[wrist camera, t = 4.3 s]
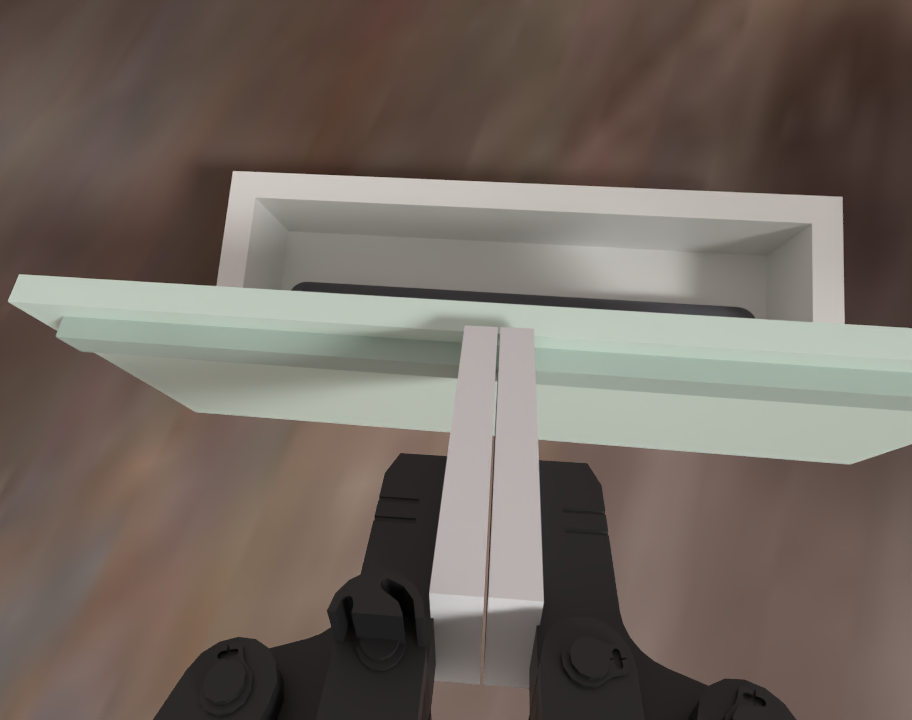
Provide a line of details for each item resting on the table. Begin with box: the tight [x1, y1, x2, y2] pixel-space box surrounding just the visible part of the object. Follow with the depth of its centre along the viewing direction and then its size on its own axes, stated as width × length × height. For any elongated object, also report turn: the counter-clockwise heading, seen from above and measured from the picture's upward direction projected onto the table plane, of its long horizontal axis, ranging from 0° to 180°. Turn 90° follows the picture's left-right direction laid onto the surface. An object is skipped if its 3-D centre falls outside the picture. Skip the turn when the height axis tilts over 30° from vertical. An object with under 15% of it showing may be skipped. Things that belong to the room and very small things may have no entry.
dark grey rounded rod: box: [291, 282, 755, 319], centre depth 27 cm, size 22×2×2 cm, turn 86°
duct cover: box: [8, 274, 912, 464], centre depth 18 cm, size 26×10×1 cm
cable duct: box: [216, 171, 845, 324], centre depth 26 cm, size 26×10×5 cm, turn 86°
